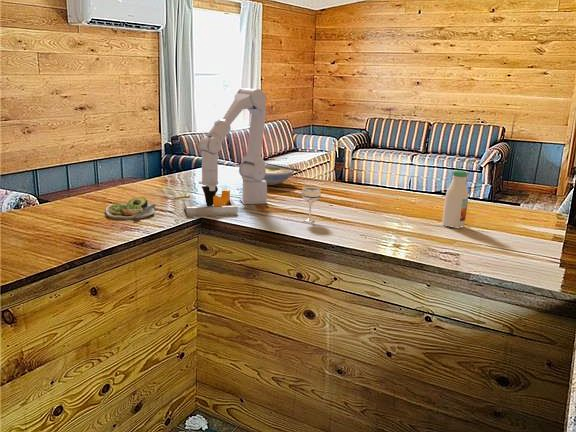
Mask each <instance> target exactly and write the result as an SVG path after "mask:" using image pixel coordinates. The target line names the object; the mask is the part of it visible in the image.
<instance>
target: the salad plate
mask: <svg viewBox="0 0 576 432" xmlns="http://www.w3.org/2000/svg"><path fill="white" fill-rule="evenodd" d="M155 207H157V204H155V203H152V204H150V203H148V200H147V198H145V197H143V196H142V197H141V196H139V197H134V198H131V199H130V200H128V202H127V204H122V203H121V204H120V203H119V204H118V203H115V204H111V205H108V206H106V207H105V214H106V216H108V217H109V218H111V219H114V220H122V221H123V220H124V221H125V220H126V221H127V219H128V220H139V219H144V218H147V217H150V216H153V215H154V214H155V213H156V212H155V209H154V208H155ZM119 215H122V216H119Z"/></svg>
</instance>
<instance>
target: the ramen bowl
mask: <svg viewBox="0 0 576 432" xmlns="http://www.w3.org/2000/svg"><path fill="white" fill-rule="evenodd" d="M265 171H266V173H265V176H264V178H263V179H262V180H266V182H267V185H274V186H277V185H279V184H282V183H283V182H286V181H287V180H288V179H290V177H291V176H292V175H293V173H294V171H295V172H301V171H302V169H300V168H299V169H298V168H294V167H291V166H287V165H282V164H272V163H268V162H265Z"/></svg>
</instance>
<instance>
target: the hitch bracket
mask: <svg viewBox="0 0 576 432" xmlns="http://www.w3.org/2000/svg"><path fill="white" fill-rule="evenodd" d="M183 204H184V207H183V209H184V211H185V213H186V217H200V216H201V217H204V216H205V217H206V216H209V217H210V216H233V215H238V207H239V206H238V205H236V203H235V202H234V201H233V199H230V200H229V206H207V205H206V206H205V205H204V206H190V204H189V201H184V202H183Z"/></svg>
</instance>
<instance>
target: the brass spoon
mask: <svg viewBox="0 0 576 432" xmlns="http://www.w3.org/2000/svg"><path fill="white" fill-rule="evenodd" d="M173 197H174V199H175V200H176V199H186V198H187V199H188V198H191V195H190V194H183V195H177V196H173Z"/></svg>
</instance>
